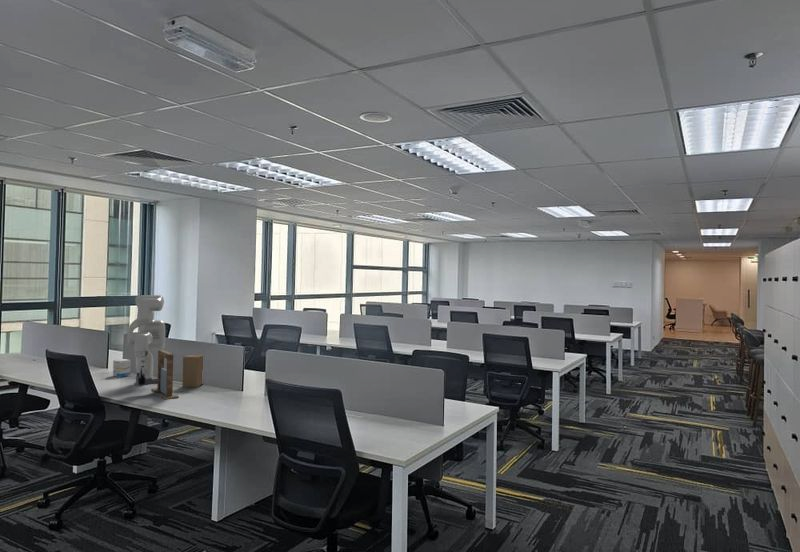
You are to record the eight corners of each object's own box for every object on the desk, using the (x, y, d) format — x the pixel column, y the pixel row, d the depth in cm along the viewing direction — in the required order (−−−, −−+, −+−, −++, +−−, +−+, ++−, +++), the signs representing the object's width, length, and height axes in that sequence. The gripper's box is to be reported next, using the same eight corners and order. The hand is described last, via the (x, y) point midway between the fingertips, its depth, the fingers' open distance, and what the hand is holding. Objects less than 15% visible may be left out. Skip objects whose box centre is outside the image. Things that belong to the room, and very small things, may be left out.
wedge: (135, 384, 331) (136, 375, 331) (156, 382, 338) (156, 374, 338) (138, 385, 326) (138, 377, 326) (159, 383, 333) (159, 375, 333)
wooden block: (203, 384, 364) (204, 355, 364) (196, 387, 354) (197, 357, 354) (189, 384, 365) (190, 354, 365) (182, 386, 355) (182, 356, 355)
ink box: (130, 375, 390) (131, 359, 390) (119, 377, 383) (119, 361, 383) (124, 374, 394) (124, 358, 394) (112, 376, 387) (113, 359, 387)
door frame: (151, 390, 344) (152, 349, 344) (164, 388, 348) (165, 348, 349) (164, 399, 319) (165, 355, 319) (178, 397, 324) (179, 354, 324)
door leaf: (160, 391, 340) (160, 367, 340) (163, 390, 342) (164, 367, 342) (167, 396, 326) (168, 371, 326) (171, 395, 328) (172, 371, 328)
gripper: (151, 355, 325) (150, 385, 325) (144, 351, 339) (143, 380, 339) (137, 356, 320) (136, 386, 320) (131, 352, 334) (130, 381, 334)
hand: (140, 383), depth 329 cm, fingers closed on wedge, 6 cm apart
